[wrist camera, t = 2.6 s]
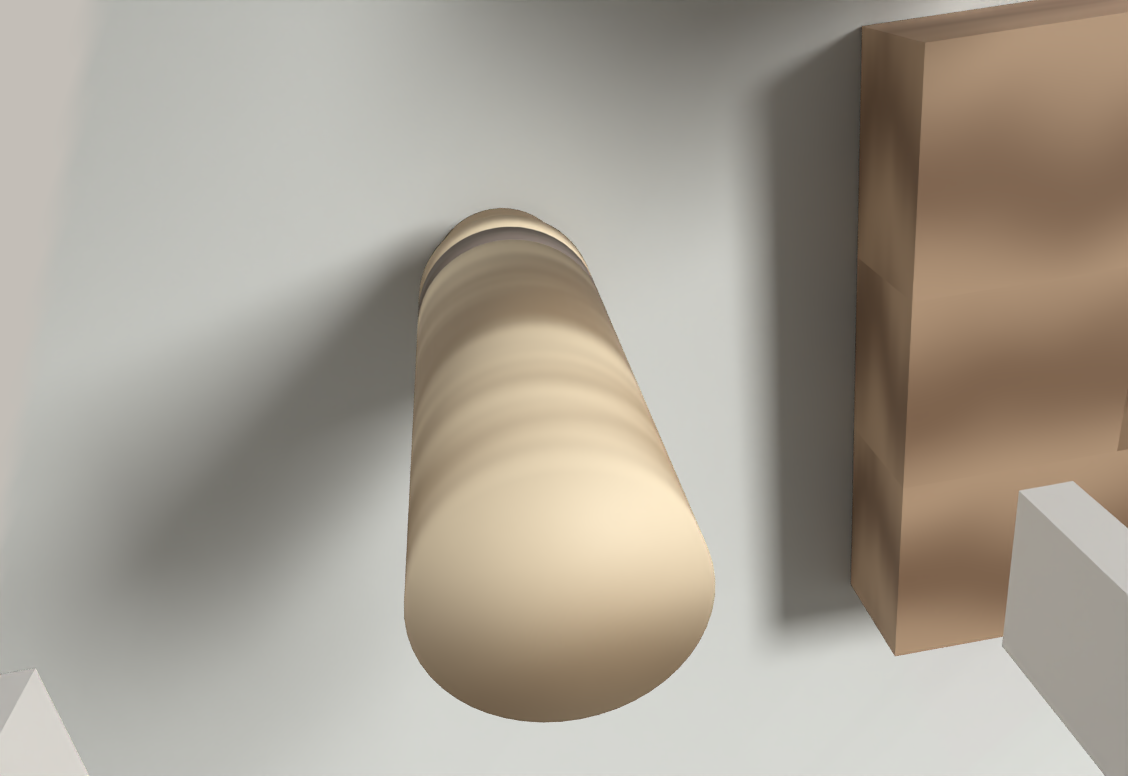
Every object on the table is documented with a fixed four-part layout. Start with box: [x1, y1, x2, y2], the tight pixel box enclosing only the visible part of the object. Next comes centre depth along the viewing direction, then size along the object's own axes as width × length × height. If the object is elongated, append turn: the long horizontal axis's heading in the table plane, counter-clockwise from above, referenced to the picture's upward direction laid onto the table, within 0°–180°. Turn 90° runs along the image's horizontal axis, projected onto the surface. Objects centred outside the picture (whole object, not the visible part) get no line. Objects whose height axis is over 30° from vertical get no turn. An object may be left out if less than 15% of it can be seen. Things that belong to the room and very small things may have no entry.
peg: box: [404, 208, 715, 722], centre depth 20 cm, size 4×4×14 cm
